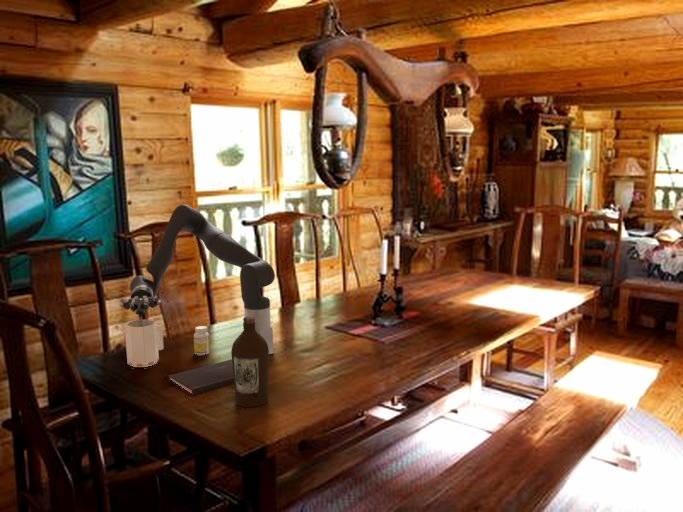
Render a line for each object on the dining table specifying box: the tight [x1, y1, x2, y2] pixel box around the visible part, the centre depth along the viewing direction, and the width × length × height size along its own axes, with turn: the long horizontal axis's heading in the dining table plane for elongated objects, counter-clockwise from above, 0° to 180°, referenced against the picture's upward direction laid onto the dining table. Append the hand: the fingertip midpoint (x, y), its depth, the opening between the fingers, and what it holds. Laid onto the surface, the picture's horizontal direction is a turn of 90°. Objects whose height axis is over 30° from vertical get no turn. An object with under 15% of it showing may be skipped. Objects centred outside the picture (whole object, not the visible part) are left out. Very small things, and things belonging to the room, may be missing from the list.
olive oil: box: [230, 316, 270, 408], centre depth 171 cm, size 11×11×25 cm
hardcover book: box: [168, 358, 234, 396], centre depth 191 cm, size 16×23×2 cm
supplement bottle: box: [193, 325, 210, 356], centre depth 215 cm, size 5×5×10 cm
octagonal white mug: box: [124, 318, 164, 367], centre depth 205 cm, size 10×12×14 cm
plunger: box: [134, 298, 146, 327], centre depth 203 cm, size 7×7×19 cm
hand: (139, 308), depth 199 cm, fingers closed on plunger, 3 cm apart
